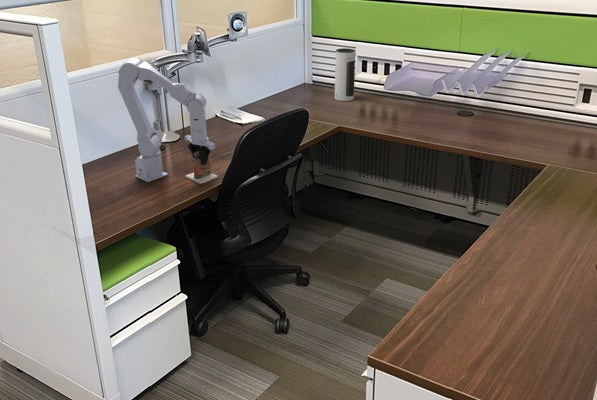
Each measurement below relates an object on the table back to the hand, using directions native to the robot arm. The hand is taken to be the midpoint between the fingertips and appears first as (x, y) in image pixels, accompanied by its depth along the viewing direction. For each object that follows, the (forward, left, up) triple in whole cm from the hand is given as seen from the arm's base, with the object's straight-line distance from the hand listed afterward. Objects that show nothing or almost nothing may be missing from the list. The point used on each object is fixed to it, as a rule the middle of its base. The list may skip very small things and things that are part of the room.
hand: (200, 163), depth 234 cm
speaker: (+120, +25, -6) cm, 123 cm away
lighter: (0, 0, -5) cm, 5 cm away
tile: (0, 0, -6) cm, 6 cm away
